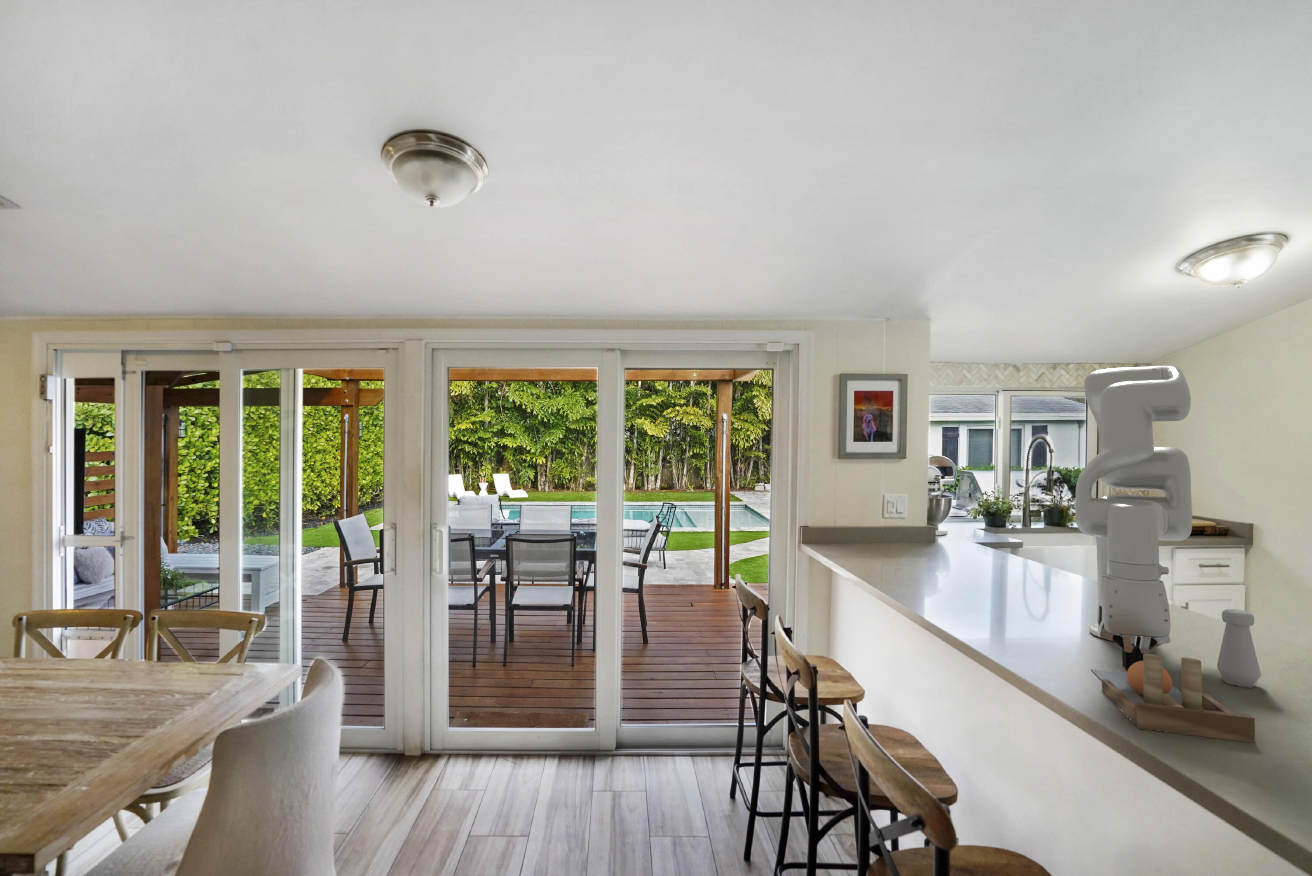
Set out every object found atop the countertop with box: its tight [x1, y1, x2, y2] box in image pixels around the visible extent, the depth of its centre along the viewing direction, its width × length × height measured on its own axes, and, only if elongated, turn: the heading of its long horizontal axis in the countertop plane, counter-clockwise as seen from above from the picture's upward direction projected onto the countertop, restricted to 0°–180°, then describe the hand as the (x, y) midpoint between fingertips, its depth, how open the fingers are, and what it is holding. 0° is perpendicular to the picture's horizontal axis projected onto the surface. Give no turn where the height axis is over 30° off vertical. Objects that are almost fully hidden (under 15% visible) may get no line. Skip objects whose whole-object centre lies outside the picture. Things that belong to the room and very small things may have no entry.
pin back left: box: [1180, 656, 1203, 710], centre depth 98 cm, size 2×2×9 cm
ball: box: [1126, 661, 1173, 696], centre depth 106 cm, size 6×6×6 cm
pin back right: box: [1143, 653, 1164, 705], centre depth 100 cm, size 2×2×9 cm
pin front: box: [1163, 694, 1184, 708], centre depth 98 cm, size 2×2×9 cm
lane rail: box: [1101, 679, 1256, 744], centre depth 100 cm, size 16×14×4 cm
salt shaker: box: [1216, 608, 1262, 688], centre depth 113 cm, size 6×6×13 cm
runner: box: [1090, 668, 1204, 710], centre depth 105 cm, size 26×11×1 cm, turn 161°
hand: (1133, 672), depth 114 cm, fingers closed
